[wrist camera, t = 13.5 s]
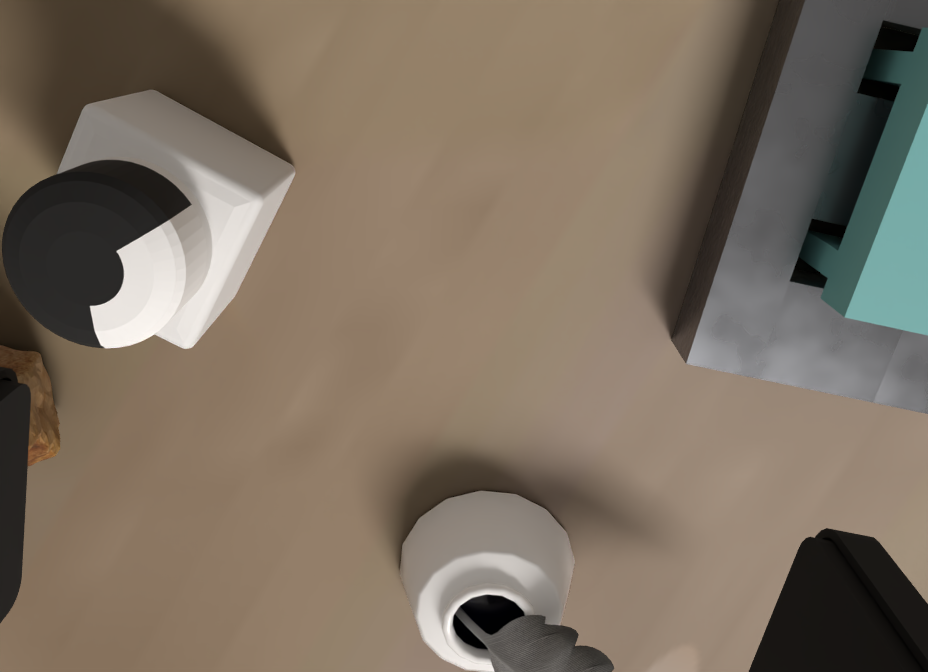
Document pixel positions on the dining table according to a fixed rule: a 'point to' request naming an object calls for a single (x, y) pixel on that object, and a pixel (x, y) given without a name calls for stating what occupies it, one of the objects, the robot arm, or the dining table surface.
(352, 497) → the dining table surface
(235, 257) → the medicine bottle
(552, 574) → the inkwell
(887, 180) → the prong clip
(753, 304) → the slot rail
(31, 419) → the decorative rock
